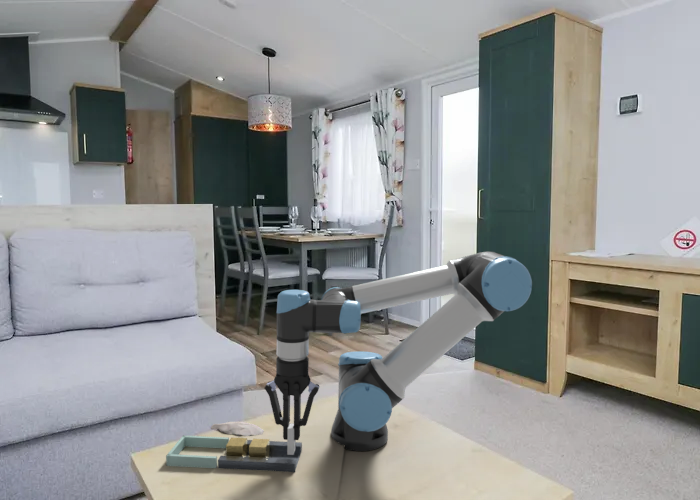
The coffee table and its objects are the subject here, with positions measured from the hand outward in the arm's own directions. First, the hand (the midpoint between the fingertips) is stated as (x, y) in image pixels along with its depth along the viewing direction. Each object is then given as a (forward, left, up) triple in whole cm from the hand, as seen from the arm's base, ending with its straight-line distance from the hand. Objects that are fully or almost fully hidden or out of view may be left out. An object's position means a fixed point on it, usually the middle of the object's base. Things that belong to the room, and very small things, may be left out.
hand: (291, 451), depth 120 cm
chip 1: (+13, 0, -2) cm, 13 cm away
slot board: (+7, 0, -3) cm, 8 cm away
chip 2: (+8, 0, -2) cm, 8 cm away
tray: (+23, 0, -3) cm, 23 cm away
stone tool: (+17, -15, -4) cm, 23 cm away
